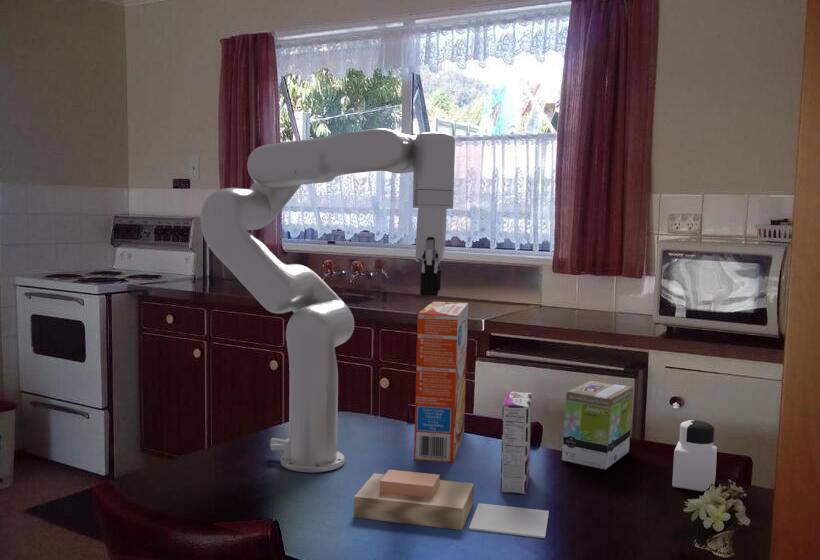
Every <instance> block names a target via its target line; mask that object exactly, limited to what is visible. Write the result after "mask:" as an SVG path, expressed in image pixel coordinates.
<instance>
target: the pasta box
mask: <svg viewBox="0 0 820 560" xmlns="http://www.w3.org/2000/svg"><path fill="white" fill-rule="evenodd" d="M468 315H469V303H468V302H453V301H452V302H451V301H432V302H431V303H429V304H428V305H427V306H426V307H424V308H423V309H422V310H420V311H419V312H418V313H417V321H416V322H417V324H416V325H417V328H416V329H417V330H416V331H417V332H416V358H415V359H416V364H415V366H416V367H415V370H416V372H415V400H414V401H415V402H414V403H415V405H414V407H415V409H414V435H413V436H414V440H413V443H414V444H413V461H422V460H426V462H435V461H437V462H439V463H448V464H449V463H451V464H453V463H454V462H455V459H456V456H457V454H456V453H458V451H457V450H459V448H458V447H460V445H461V443H462V439H463V436H464V434H463V433H465V419H466V418H465V417H466V416H465V413H466V410H465V409H466V387H467V386H466V383H467V382H466V380H467V379H466V378H467V350H468V349H467V347H468V324H469V323H468V318H469V317H468ZM461 438H462V439H461ZM459 444H460V445H459Z"/></svg>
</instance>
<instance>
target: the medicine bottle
mask: <svg viewBox="0 0 820 560" xmlns="http://www.w3.org/2000/svg"><path fill="white" fill-rule="evenodd" d="M714 438H715V427H714V426H713V425H712V424H710V423H708V422H706V421H703V420H694V419H693V420H692V419H690V420H685V421H683V422H681V423H680V424H679V441H678V442H677V444H676V446H675V448H674V451H673V464H672V465H673V466H672V483H671V484H672V487H673V488H679V489H684V490H690V491H691V490H692V491H698V492H703V491H705V490H706V489H708V488H709V486H710V485H711V484H713V485H714V486H715V483H716V476H717V475H716V472H717V470H716V469H717V454H718V453H717V452H718V447H717V446H716V445H714V442H715V441H714V440H715V439H714Z"/></svg>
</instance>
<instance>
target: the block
mask: <svg viewBox="0 0 820 560" xmlns="http://www.w3.org/2000/svg"><path fill="white" fill-rule="evenodd" d="M384 474H385V475H384V476H383V478H382V479H381V480H380V493H389V494H398V495H407V496H416V497H425V498H433V497H434V495H435V493H436V491H437V490H438V488H439V486H440V480H441V474H436V473H426V472H418V471H417V472H416V471H410V470H409V471H407V470H397V469H388V470H387V472H385V473H384Z"/></svg>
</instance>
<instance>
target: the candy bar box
mask: <svg viewBox="0 0 820 560" xmlns="http://www.w3.org/2000/svg"><path fill="white" fill-rule="evenodd" d="M505 395H506V396H505V398H504V401H503V404H502V415H501V416H502V418H501V419H502V421H501V461H500V463H501V465H500V466H501V468H500V492H501V493H502V494H503V493H504V494H511V495H512V494H513V495H515V494H516V495H527V490H528V485H529V484H528V483H529V480H530V461H531V460H530V459H531V457H530V456H531V455H530V454H531V453H530V452H531V427H532V426H531V425H532V424H531V423H532V422H531V421H532V418H531V417H532V414H531V413H532V392H525V391H524V392H522V391H511V390H510V391H507V392H506V394H505Z"/></svg>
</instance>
